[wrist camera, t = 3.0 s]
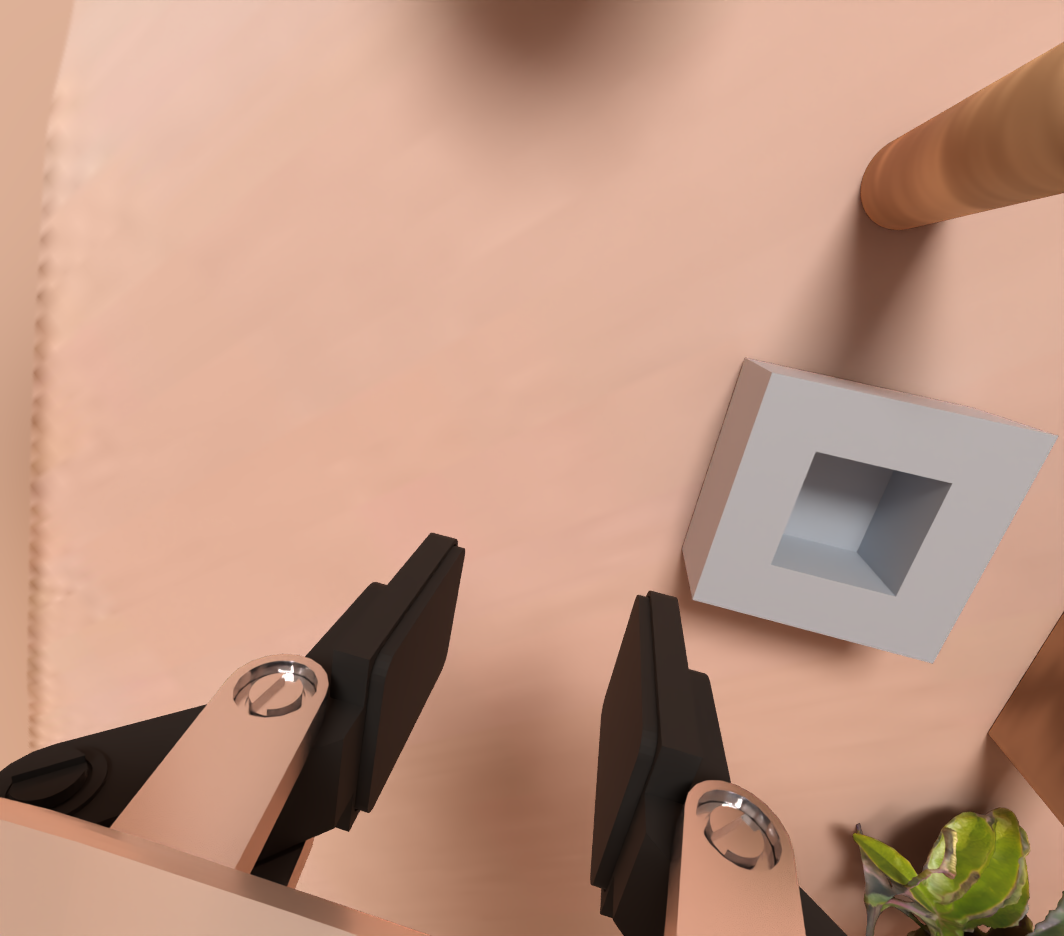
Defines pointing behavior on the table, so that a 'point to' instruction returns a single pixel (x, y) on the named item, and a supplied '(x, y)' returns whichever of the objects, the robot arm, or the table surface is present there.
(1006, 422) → the socket block
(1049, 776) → the walnut wall
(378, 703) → the robot arm
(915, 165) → the oak dowel
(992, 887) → the passion flower
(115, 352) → the table surface
